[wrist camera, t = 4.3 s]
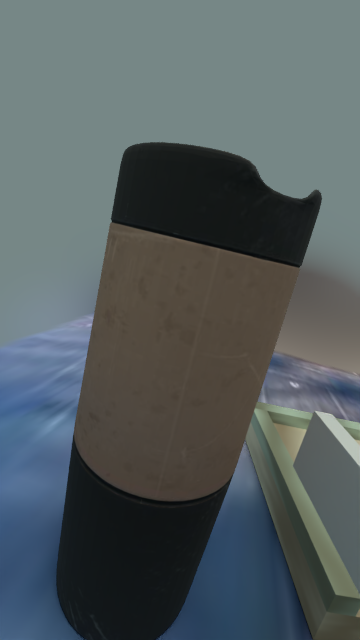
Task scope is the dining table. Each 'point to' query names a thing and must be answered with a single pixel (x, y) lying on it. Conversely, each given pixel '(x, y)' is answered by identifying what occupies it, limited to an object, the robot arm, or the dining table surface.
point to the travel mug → (171, 377)
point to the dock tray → (303, 523)
